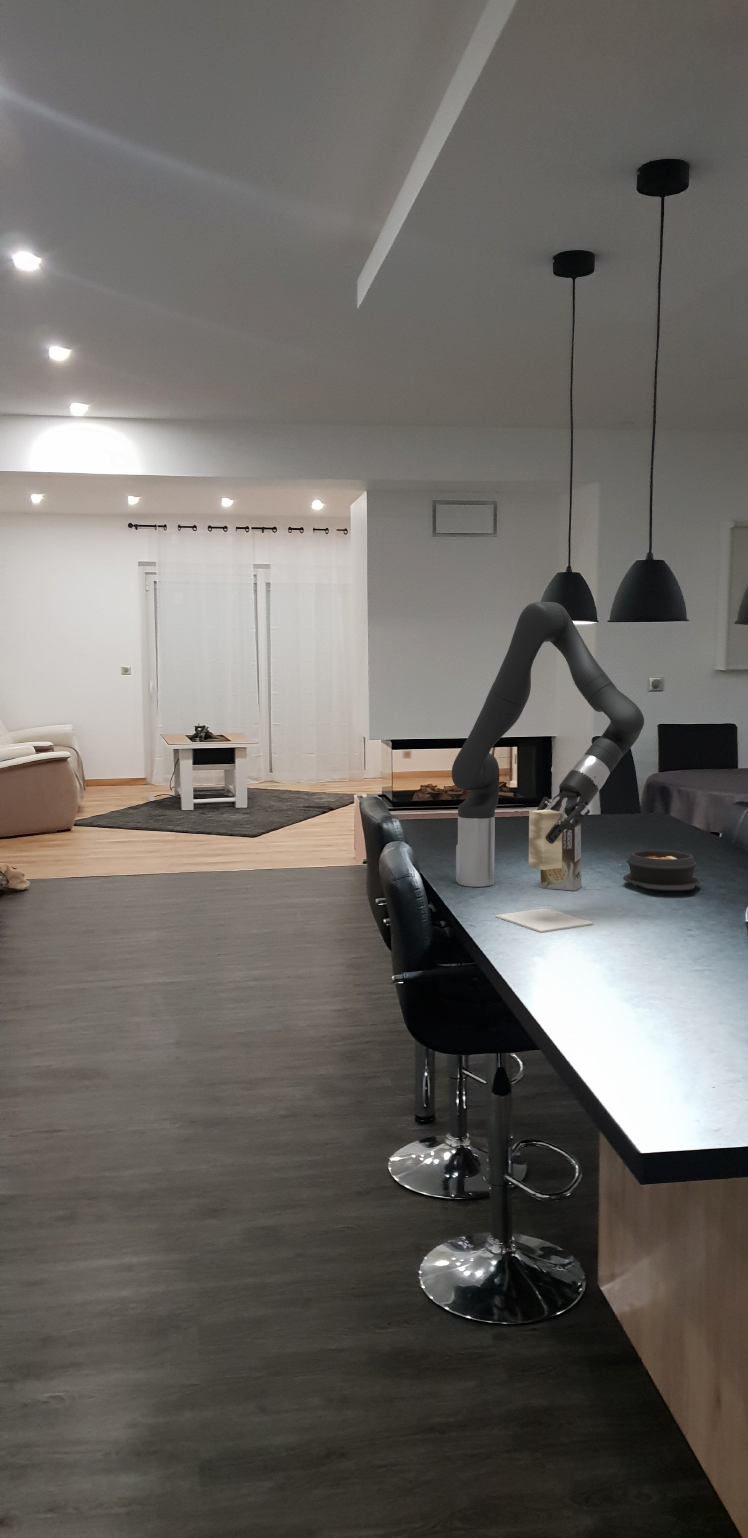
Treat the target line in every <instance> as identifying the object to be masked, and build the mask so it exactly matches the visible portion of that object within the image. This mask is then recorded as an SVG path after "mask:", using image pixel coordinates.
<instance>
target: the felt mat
mask: <svg viewBox="0 0 748 1538" xmlns="http://www.w3.org/2000/svg"><path fill="white" fill-rule="evenodd" d="M495 918H497V919H500V920H502V921H506V922H509V923H512V924H515V925H518V926H519V927H522V928H523V927H524V928H527V929H529V930H533V931H536V932H538V933H540V934H541V933H549V932H555V931H560V930H561V931H562V930H568V929H569V930H570V929H573V928H575V929H576V928H581V927H586V926H587V927H588V926H593V925H594V922H592V921H589V920H586V919H583V918H580V917H575V916H573V915H569V914H566V913H563V912H559V911H557V910H552V909H549V908H546V907H544V908H538V909H531V910H523V911H516V912H510V913H501V914H495Z"/></svg>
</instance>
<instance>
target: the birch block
mask: <svg viewBox="0 0 748 1538" xmlns="http://www.w3.org/2000/svg"><path fill="white" fill-rule="evenodd" d="M528 813H529V814H528V818H529V819H528V867H530V868H534V869H537V870H540V871H541V870H547V869H555V868H562V833H561V835H560V836H559V837H558V839H557V840H556V841H555V842H554V843H553V844H551V843H549V842H548V841H547V840H546V835H547V834H548V833H549V831H550V830H551V829H552V827H553V826H554V825H557V824H556V822H557V820H558V819H559V817H560V813H561V812H559V811H553V810H537V809H536V810H529V812H528Z"/></svg>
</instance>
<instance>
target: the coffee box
mask: <svg viewBox="0 0 748 1538" xmlns="http://www.w3.org/2000/svg"><path fill="white" fill-rule="evenodd" d="M582 829H583V824H582V823H579V824H578V825H577V826H576V827H575V828H574V829H573V830H569V829H567V830H566V831H564V832H562V868H555V869H547V870H541V869H540V888H542V889H551V890H563V891H571V892H572V891H577V890H579V889H580V888H581V887H582V886H583V885H582V860H583V859H582V851H583V850H582V844H583V843H582V842H583V838H582V837H583V835H582V834H583V831H582Z"/></svg>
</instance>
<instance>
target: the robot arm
mask: <svg viewBox="0 0 748 1538" xmlns="http://www.w3.org/2000/svg"><path fill="white" fill-rule="evenodd" d="M547 642H549V643H551V644H552V645H553V646H554V647H555V648H556V649H557V650H558V651H559V652H560V653H561V654H562V656H563V657H564V659H565V661H566V663H567V665H568V666H567V667H568V668H569V671H570V675H571V678H572V681H573V683H574V685H575V687H576V688H577V690H578V691H579V693H580V694H581V695H582V697H583V698H584V700H585V701H586V702H587V703H588V704H589V706H590V707H591V708H592V709H593V710H594V711H595V712H598V713H604V715H606V717H608V719H609V721H610V722H609V724H608V726H607V727H606V728H605V730H604V731H603V733H602V735H600V737H599V738H598V739H596V740H594V741H593V743H592V744H591V745H590V746H589V747H588V749H586V751H585V753H584V754H583V756H581V757H580V758H579V759H578V760H577V761H576V763H575V764H574V765H573V767H572V768H571V769H570V771H568V773H567V774H566V776H565V777H564V778H563V780H561V782H560V783H559V786H558V787H559V790H558V791H559V792H558V794H556V795H555V796H554V797H553V798H550V799H549V797H547V796H544V797H543V798H542V800H541V801H540V804H539V805H538V807H537V809H536V810H553V811H559V812H561V813H560V817H559V819H558V820H557V822H556V824H557V825H554V826H553V827H552V829H551V830H550V831H549V833H548V834H547V835H546V840H547V841H548V842H549V843H551V844H553V843H554V842H555V841H556V840H557V839H558V837H559V836H560V835H561V833H562V832H564V831H566V830H567V829H569V830H573V829H574V828H575V827H576V826H577V825H578V824H581V822H582V821H583V820H584V819H585V818H586V817H587V816H588V815H589V814H590V813H591V810H590V809H589V808H588V806H589V805H590V803H591V802H592V800H593V799H594V797H596V795H597V794H598V793H599V791H600V790H601V789H602V788H603V786H604V785H605V783H606V781H607V779H608V778H609V776H610V774H611V773H612V772H613V771H614V769H615V768H616V766H617V765H618V763H619V762H620V760H621V758H622V757H624V756H625V754H626V753H628V752H629V750H630V749H631V748H632V747H633V745H635V743H636V741H637V740H638V739H639V737H640V734H641V732H642V730H643V729H644V725H645V717H644V714H643V712H642V710H641V709H640V707H639V706H638V705H637V704H636V702H634V701H633V700H632V699H630V698H629V697H628V696H627V695H625V694H624V693H623V692H621V691H620V690H619V689H618V687H617V686H616V685H615V683H614V682H613V681H612V680H611V678H610V677H609V676H608V675H607V674H606V672H605V671H604V669H603V668H602V667H601V666H600V665H599V663H598V661H597V660H596V659H595V658H594V656H593V654H592V653H591V651H590V650H589V648H588V646H587V645H586V643H585V641H584V639H583V638H582V635H581V634H580V633H579V631H578V628H577V627H576V624H575V623H574V621H573V620H572V617H571V616H570V614H569V612H568V611H567V610H566V608H565V607H564V606H563V605H562V604H560V603H558V602H554V601H553V602H552V601H538V602H537V601H536V602H532V603H531V602H530V603H529V604H528V605H526V606H525V608H523V609H522V612H521V613H520V615H519V617H518V620H517V623H516V625H515V628H514V632H513V634H512V637H511V641H510V645H509V647H508V649H507V652H506V655H505V656H504V658H503V661H502V663H501V665H500V667H499V670H498V673H497V675H496V677H495V678H494V681H493V683H492V685H491V687H490V689H489V692H488V694H487V696H486V698H485V701H484V703H483V706H482V707H481V710H480V712H479V715H478V716H477V718H476V721H475V723H474V725H473V726H472V727H473V728H472V729H471V731H470V733H469V735H468V737H467V738H466V740H465V741H464V743H463V746H462V747H461V748H460V750H459V752H458V754H457V755H456V757H455V759H454V760H453V764H452V768H451V779H452V783H453V785H454V786H455V787H456V788H458V789H459V790H462V791H469V794H468V796H467V797H466V799H464V801H462V802H461V803H460V804H459V805H458V807H457V844H456V846H455V882H457V884H458V885H461V886H463V887H470V888H471V887H473V888H474V887H479V888H480V887H488V886H489V887H490V886H493V885H494V884H495V840H496V839H495V836H496V835H495V833H496V832H495V829H496V827H495V826H496V825H495V824H496V823H495V821H496V820H495V819H496V816H495V815H496V810H497V806H498V804H499V796H500V795H499V792H500V777H501V776H500V775H501V774H500V766H499V763H498V760H497V758H496V757H495V755H494V754H491V753H490V752H491V751H492V749H493V747H494V746H495V744H496V743H497V742H498V741H499V740H500V739H501V738H503V736H504V735H505V734H507V732H509V731H510V730H511V729H512V727H513V726H514V725H515V724H516V723H517V722H518V720H519V719H520V717H521V715H522V713H523V711H524V708H525V707H526V704H527V702H528V700H529V697H530V694H531V689H532V686H531V685H532V667H533V664H534V661H535V659H536V656H537V654H538V653H539V650H540V649H541V647H542V646H543V644H544V643H547ZM573 820H574V821H573Z"/></svg>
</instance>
